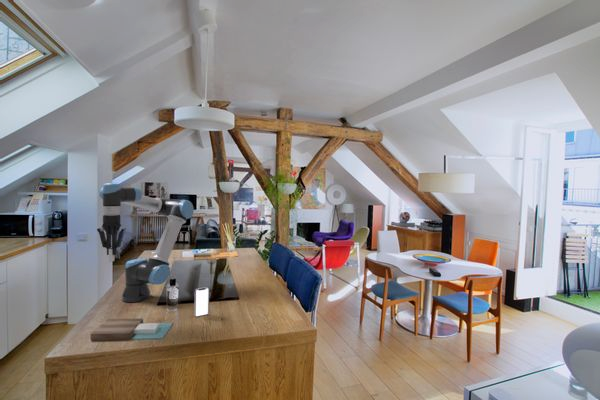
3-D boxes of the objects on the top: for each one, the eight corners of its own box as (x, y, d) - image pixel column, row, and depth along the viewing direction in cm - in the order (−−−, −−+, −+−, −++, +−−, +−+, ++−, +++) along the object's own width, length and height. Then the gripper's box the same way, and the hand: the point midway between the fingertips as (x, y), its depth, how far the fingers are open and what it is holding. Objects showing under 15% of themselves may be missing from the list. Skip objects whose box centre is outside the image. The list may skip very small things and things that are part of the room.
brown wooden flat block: (108, 324, 148) (108, 318, 148) (143, 324, 150) (143, 318, 150) (90, 340, 133) (90, 333, 133) (129, 339, 135) (129, 333, 135)
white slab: (139, 327, 145) (139, 323, 145) (159, 327, 146) (159, 323, 146) (133, 333, 139) (134, 329, 139) (154, 333, 140) (154, 329, 140)
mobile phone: (208, 313, 164) (208, 286, 163) (209, 314, 163) (209, 286, 162) (193, 317, 160) (194, 288, 159) (194, 317, 159) (194, 289, 158)
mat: (145, 324, 150) (145, 323, 150) (172, 323, 151) (172, 322, 151) (131, 339, 135) (131, 338, 135) (162, 339, 136) (162, 338, 136)
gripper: (93, 214, 148) (93, 263, 149) (122, 215, 149) (121, 263, 150) (101, 213, 155) (101, 259, 156) (128, 214, 157) (128, 259, 158)
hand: (111, 261), depth 153 cm, fingers closed
